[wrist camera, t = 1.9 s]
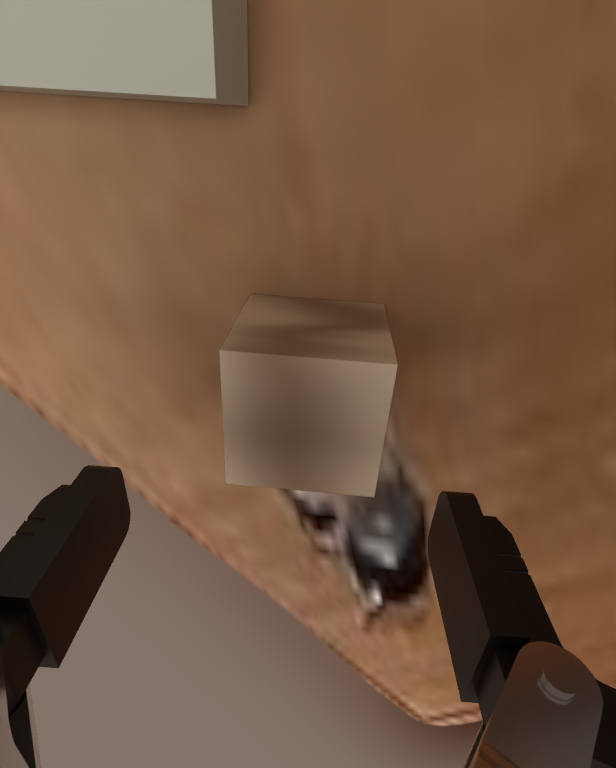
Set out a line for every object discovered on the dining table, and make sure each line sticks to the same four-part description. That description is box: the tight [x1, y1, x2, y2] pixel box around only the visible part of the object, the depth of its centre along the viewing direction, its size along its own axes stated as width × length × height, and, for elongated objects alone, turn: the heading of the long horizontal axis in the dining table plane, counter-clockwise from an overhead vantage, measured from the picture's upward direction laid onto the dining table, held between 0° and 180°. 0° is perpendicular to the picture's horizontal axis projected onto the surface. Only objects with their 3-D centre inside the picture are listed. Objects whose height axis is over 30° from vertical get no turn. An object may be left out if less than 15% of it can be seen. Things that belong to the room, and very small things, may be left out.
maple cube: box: [219, 294, 398, 497], centre depth 16 cm, size 5×5×5 cm
